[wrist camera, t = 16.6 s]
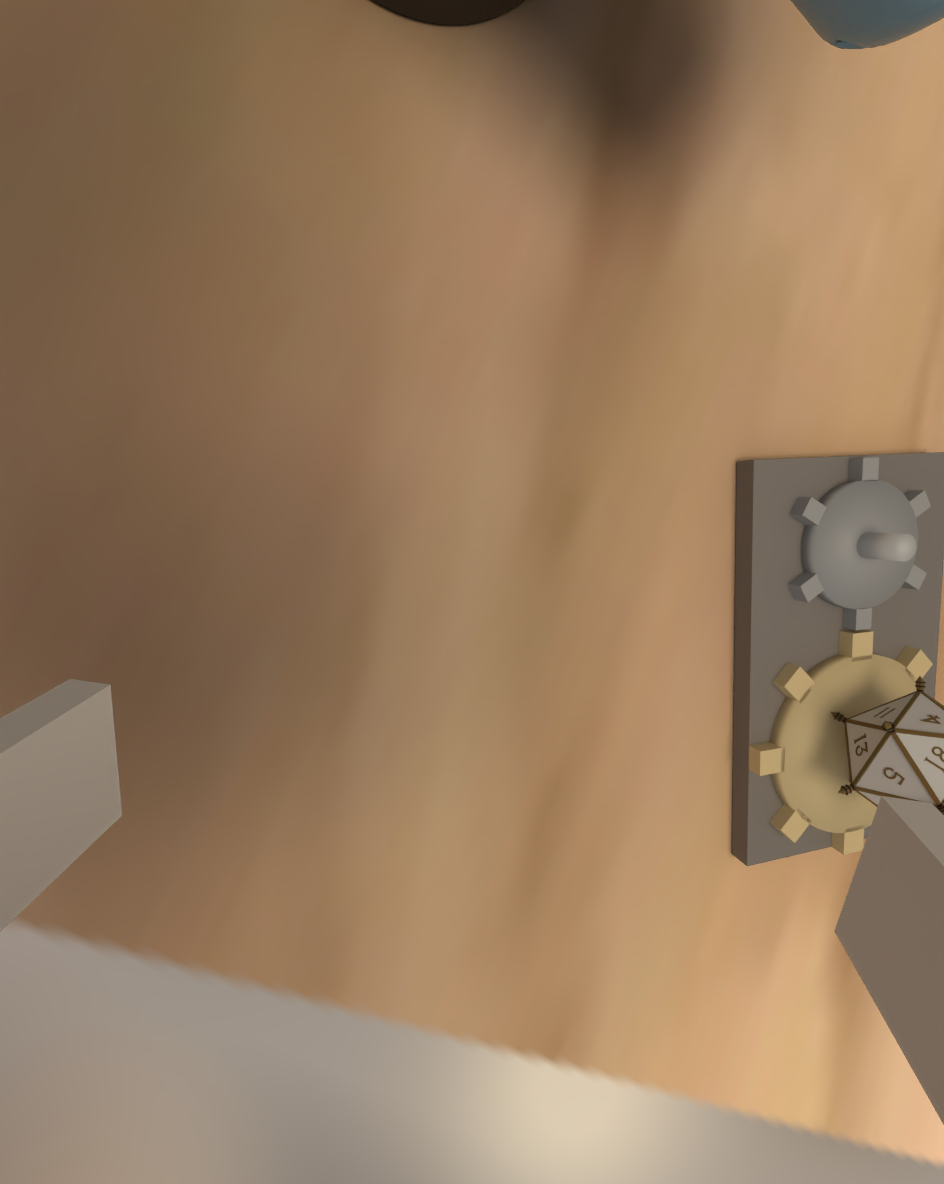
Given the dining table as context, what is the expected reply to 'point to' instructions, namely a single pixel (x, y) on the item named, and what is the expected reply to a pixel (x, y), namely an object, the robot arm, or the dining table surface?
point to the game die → (897, 750)
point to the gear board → (826, 633)
